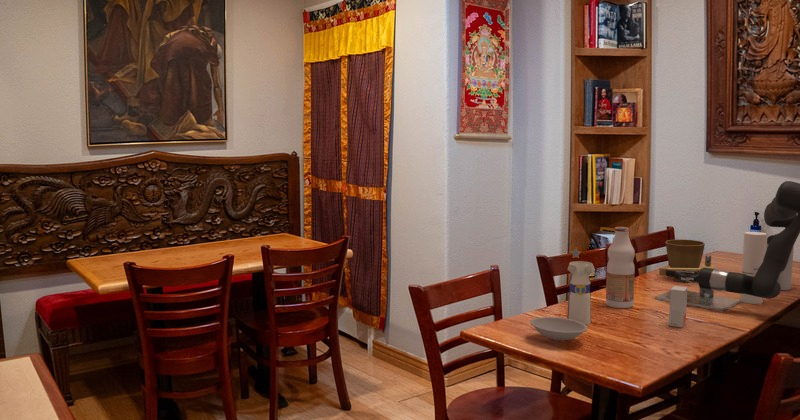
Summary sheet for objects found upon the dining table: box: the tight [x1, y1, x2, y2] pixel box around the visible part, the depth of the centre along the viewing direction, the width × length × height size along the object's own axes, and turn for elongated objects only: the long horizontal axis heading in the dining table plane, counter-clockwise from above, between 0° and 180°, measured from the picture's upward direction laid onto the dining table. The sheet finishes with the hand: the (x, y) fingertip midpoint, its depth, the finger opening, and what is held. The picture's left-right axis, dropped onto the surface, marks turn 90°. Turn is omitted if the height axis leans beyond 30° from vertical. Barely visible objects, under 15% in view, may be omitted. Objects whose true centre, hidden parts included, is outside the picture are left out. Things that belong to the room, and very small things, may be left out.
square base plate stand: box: [654, 254, 742, 312], centre depth 249 cm, size 17×24×16 cm
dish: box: [529, 316, 588, 342], centre depth 204 cm, size 18×14×5 cm
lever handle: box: [658, 264, 716, 277], centre depth 252 cm, size 19×5×4 cm, turn 86°
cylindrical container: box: [740, 231, 768, 305], centre depth 247 cm, size 7×7×25 cm
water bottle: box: [566, 248, 596, 326], centre depth 223 cm, size 8×9×25 cm
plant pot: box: [665, 238, 706, 283], centre depth 282 cm, size 15×15×16 cm
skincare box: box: [668, 285, 688, 328], centre depth 219 cm, size 6×4×12 cm
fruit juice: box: [605, 226, 636, 309], centre depth 243 cm, size 9×9×28 cm
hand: (666, 272), depth 251 cm, fingers closed
